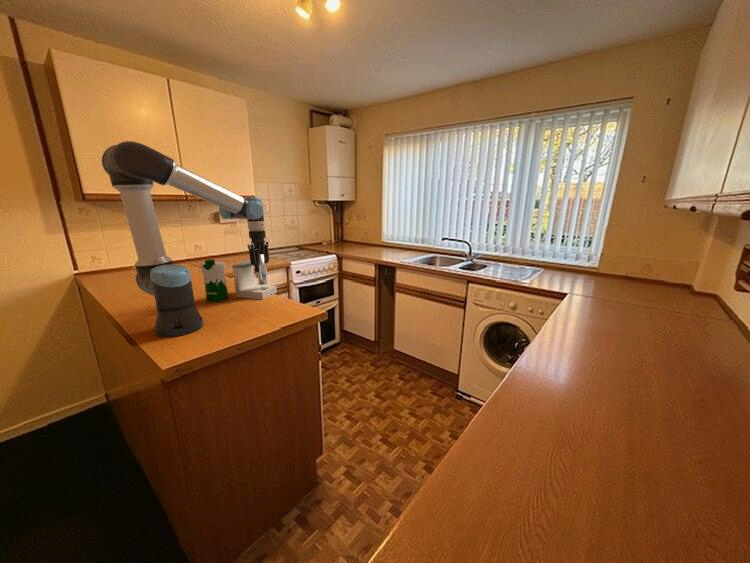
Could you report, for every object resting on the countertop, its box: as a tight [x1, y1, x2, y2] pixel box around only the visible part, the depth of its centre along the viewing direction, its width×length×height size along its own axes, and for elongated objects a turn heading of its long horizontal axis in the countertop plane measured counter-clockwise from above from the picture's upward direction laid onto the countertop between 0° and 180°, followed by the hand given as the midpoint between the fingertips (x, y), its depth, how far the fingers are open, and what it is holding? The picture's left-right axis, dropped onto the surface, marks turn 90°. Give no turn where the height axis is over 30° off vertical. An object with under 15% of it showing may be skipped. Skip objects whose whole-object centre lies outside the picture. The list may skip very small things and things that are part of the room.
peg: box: [257, 253, 268, 285], centre depth 148 cm, size 4×4×15 cm
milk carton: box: [199, 258, 229, 303], centre depth 142 cm, size 9×9×20 cm
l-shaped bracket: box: [232, 260, 278, 300], centre depth 151 cm, size 12×16×16 cm
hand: (261, 276), depth 149 cm, fingers closed on peg, 4 cm apart
